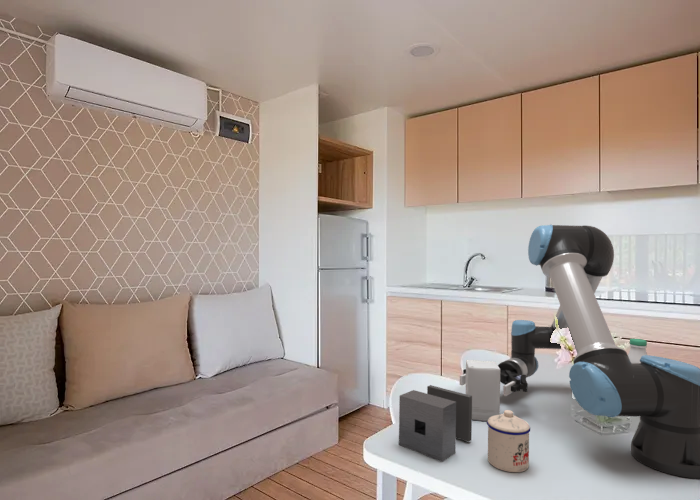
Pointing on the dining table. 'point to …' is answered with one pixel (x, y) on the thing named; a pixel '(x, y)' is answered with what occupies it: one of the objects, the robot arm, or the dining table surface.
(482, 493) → the dining table surface
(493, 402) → the supplement box
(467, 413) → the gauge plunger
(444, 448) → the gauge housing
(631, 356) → the milk bottle
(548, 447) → the dining table surface
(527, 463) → the teacup with lid
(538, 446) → the dining table surface
